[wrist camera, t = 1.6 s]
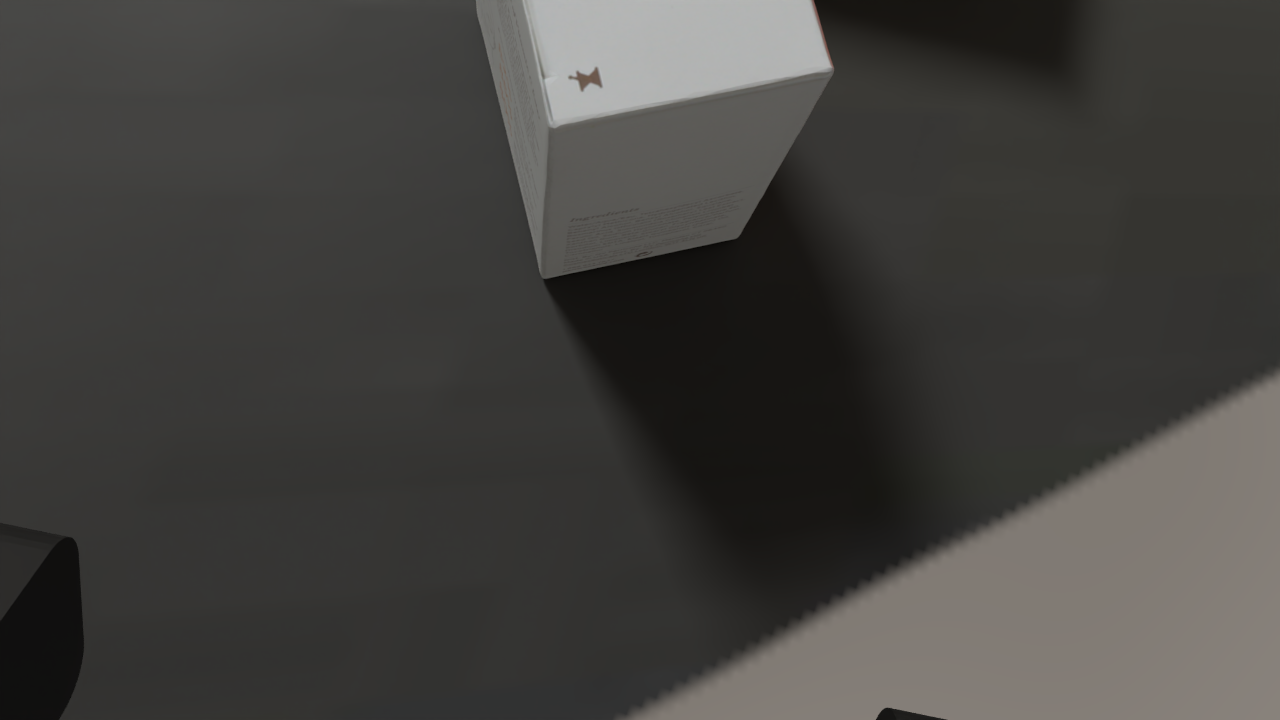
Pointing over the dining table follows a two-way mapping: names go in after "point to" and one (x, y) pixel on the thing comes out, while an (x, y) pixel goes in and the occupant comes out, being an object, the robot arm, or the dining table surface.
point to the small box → (648, 117)
